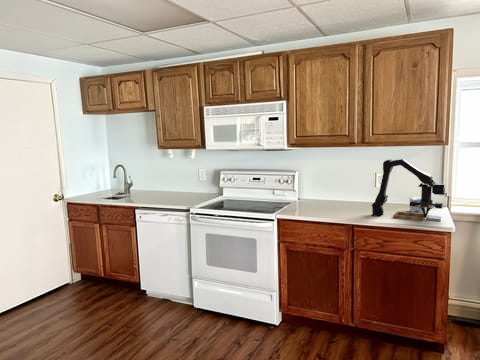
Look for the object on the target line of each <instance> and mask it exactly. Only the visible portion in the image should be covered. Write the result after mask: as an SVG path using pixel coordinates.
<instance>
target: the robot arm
mask: <svg viewBox="0 0 480 360" xmlns="http://www.w3.org/2000/svg"><path fill="white" fill-rule="evenodd" d="M397 166H399V167H400V166H401V167H402V168H404V169H406V170H407V171H409V172H410V173H411V174H413V175H414V176H415V177H417V178H418V180H419V181H420V182H421V183H420V184H419V185H418V186H417V187H419V188H421V197H420V198H421V200H420V203H419V202H417V201H411V202H410V201H409V207H410V206H414V207H415V206H416V205H419V206H420V207H419V208H421V209H422V211H423V214H424V217H425V219H426V218H427V215H428V214H429V212H430V210H432V209H433V207H434V208H435V209H443V206H444V203H443V202H439V201H438V202H435V203H433V199H432V194H433V195H434V196H435V195H438V196H445V193H446V188H445V187H446V186H445V184H443V183H436V182H435V181H434V180H433V176H432V175H431V174H429V173H428V172H424V171H422V170H420V169H418V168H417V167H416V166H414V165H413V164H412V163H410V162H409V161H407V160H406V159H404V158H400V159H395V160H393V159H387V160H384V161H383V162H382V173H383V174H382V179H381V182H380V187H379V192H378V193H377V195H376V198H375V199H374V200H375V201H374V202H372V204H371V209H372V214H371V216H372V217H379V218H380V217H382V216H383V215H384V214H385V213H384V207H383V206H384V204H386V203H387V202H388V197H389V195H387V189H388V185H389V180H390V175H391V172H392V171H393V169H394V167H397Z"/></svg>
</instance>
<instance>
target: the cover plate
mask: <svg viewBox="0 0 480 360" xmlns="http://www.w3.org/2000/svg"><path fill="white" fill-rule="evenodd" d="M425 220H426V221H428V222H429V221H430V222H440V223H441V221H442V216H441V215H431V214H429V215H427V217H426V218H425Z"/></svg>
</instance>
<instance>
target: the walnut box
mask: <svg viewBox="0 0 480 360" xmlns="http://www.w3.org/2000/svg"><path fill="white" fill-rule="evenodd" d="M392 218H393V219H397V220H409V221H418V222H419V221H420V222H425V220H426V218H425V217H424V214H420V213H412V212H410V211H408V212H407V211H396V212H395V213H394V214H393V217H392Z"/></svg>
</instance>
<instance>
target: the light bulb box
mask: <svg viewBox="0 0 480 360" xmlns="http://www.w3.org/2000/svg"><path fill="white" fill-rule="evenodd" d="M420 200H421V197H420V196H416V197H415V196H412V197H411V196H410V197H409V203H410V202H411V201H417V202H419V203H420ZM419 207H420V206H419V205H416V206H415V207H414V206H410V205H409V212H410V213H420V214H423V211H422V209H421V208H419Z"/></svg>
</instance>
